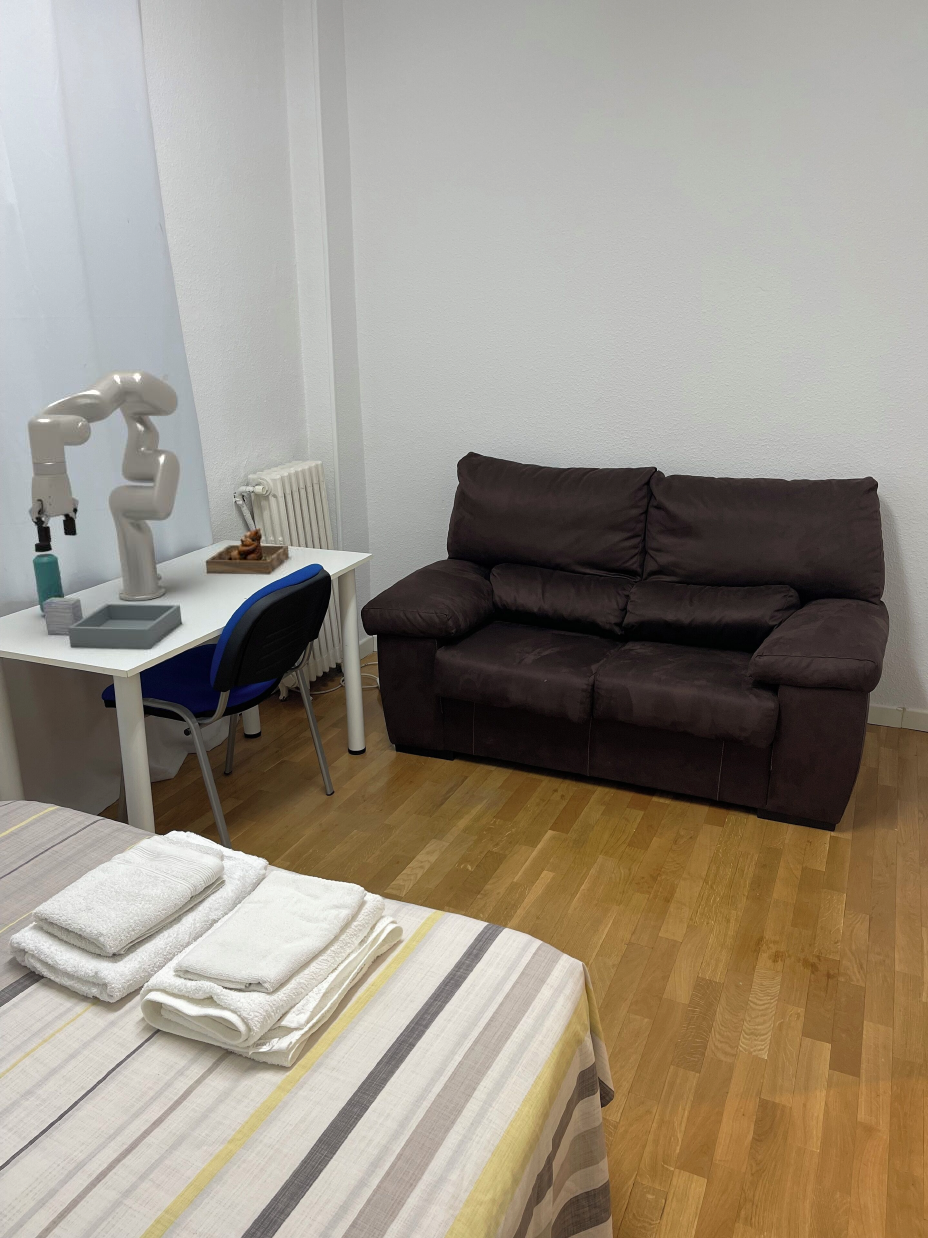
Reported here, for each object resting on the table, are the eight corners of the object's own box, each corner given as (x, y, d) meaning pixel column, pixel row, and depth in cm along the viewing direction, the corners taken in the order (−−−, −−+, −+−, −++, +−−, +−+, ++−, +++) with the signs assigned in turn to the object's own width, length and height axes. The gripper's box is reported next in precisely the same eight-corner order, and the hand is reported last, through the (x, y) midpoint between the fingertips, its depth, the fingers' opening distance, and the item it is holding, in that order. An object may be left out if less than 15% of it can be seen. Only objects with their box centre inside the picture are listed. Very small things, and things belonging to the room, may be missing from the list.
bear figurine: (232, 561, 315) (228, 524, 311) (277, 561, 313) (274, 524, 310) (218, 572, 302) (214, 533, 298) (265, 572, 300) (262, 534, 297)
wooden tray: (230, 556, 319) (229, 545, 318) (288, 557, 317) (288, 545, 316) (206, 573, 299) (205, 560, 298) (269, 574, 297) (268, 561, 296)
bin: (108, 622, 253) (106, 603, 252) (181, 623, 251) (179, 605, 250) (70, 647, 235) (67, 627, 233) (149, 649, 232) (147, 629, 231)
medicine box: (85, 630, 247) (80, 598, 245) (75, 636, 243) (70, 603, 240) (57, 629, 249) (52, 596, 246) (47, 634, 244) (42, 601, 242)
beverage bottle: (57, 619, 257) (46, 545, 250) (35, 618, 258) (23, 545, 252) (71, 612, 263) (61, 540, 257) (50, 610, 264) (39, 539, 258)
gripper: (59, 465, 244) (67, 532, 248) (12, 473, 228) (21, 544, 232) (85, 465, 242) (92, 533, 246) (39, 473, 226) (48, 545, 230)
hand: (58, 538), depth 239 cm, fingers open, 9 cm apart
